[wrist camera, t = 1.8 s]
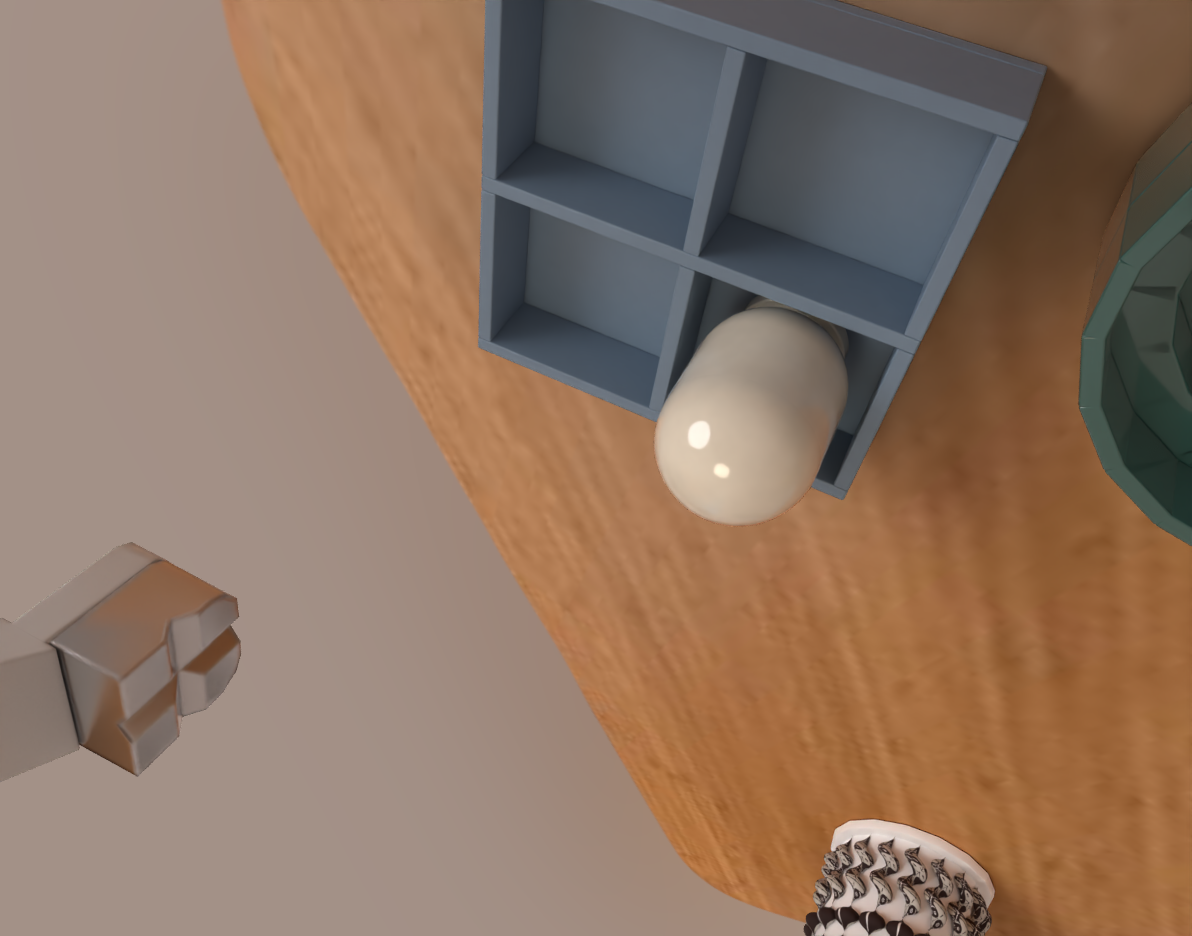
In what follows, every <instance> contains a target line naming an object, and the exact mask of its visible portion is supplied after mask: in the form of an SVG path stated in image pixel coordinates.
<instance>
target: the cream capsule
mask: <svg viewBox="0 0 1192 936" xmlns="http://www.w3.org/2000/svg"><path fill="white" fill-rule="evenodd" d="M848 349H849V340H848V335H847V331H846V329H845V328H844V327H841V326H839V325H836V324H833V323H831V322H828V321H825V320H823V319H820V318H818V317H815V316H812V315H810V314H807V313H805V312H802V311H799V310H797V309H794V308H791V307H789V306H786V305H784V304H781V303H778V302H776V301H773V300H771V299H768V298H765V297H763V296H760V295H759V296H757V297H755V298H754V299H752V300H751V301H750V302H749V303H748V304H747V305H746V307H745V308H744V309H743V311H741V312H738V313H736V314H734V315H731V316H730V317H728V318H726V319H725V320H723V321H722V322H720V323H719V324H718V325H717V326H716V327H714V328H713V329H712V330H711V331H710V332H709V333H708V334H707V336H706V337H705V338H704V339H703V341H702V342H701V343H700V345H699V346H698V348H697V350H696V351H695V353H694V355H693V356H692V358H691V359H690V361H689V363H688V364H687V366H686V367H685V369H684V371H683V372H682V374H681V376H680V377H679V379H678V380H677V382H676V384H675V385H674V387H673V389H672V390H671V392H670V393H669V395H668V397H667V398H666V400H665V402H664V404H663V406H662V408H661V410H660V412H659V416H658V419H657V423H656V426H655V434H654V452H655V459H656V463H657V467H658V470H659V473H660V475H661V478H662V479H663V481H664V483H665V485H666V487H667V488H668V490H669V491H670V493H671V494H672V495H673V496H674V498H675V499H676V500H677V501H678V502H679V503H680V504H681V505H682V506H684V507H685V508H686V509H687V510H689V511H690V512H691V513H693V514H695V515H696V516H698V517H700V518H702V519H704V520H707V521H709V522H712V523H716V524H720V525H725V526H733V527H743V526H752V525H758V524H762V523H765V522H768V521H770V520H773V519H775V518H777V517H779V516H781V515H782V514H784V513H786V512H787V511H789V510H790V509H791V508H792V507H794V506H795V505H796V504H797V503H798V502H799V501H800V500H801V499H802V498H803V497H804V496H805V494H806V493H807V492H808V491H809V489H810V488H811V486H812V484H813V482H814V480H815V479H816V477H817V475H818V472H819V470H820V468H821V465H822V463H823V461H824V458H825V456H826V454H827V452H828V449H829V447H830V445H831V442H832V440H833V438H834V435H835V433H836V431H837V428H838V426H839V424H840V421H841V419H842V417H843V414H844V411H845V408H846V404H847V400H848V391H849V377H848V370H847V366H846V362H845V360H846V358H847V355H848Z"/></svg>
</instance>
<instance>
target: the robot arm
mask: <svg viewBox="0 0 1192 936" xmlns="http://www.w3.org/2000/svg"><path fill="white" fill-rule="evenodd" d="M238 617H239V613H238V604H237V598H235V597H234V596H231V595H230V594H228V593H226V592H224V591H222V590H220V589H218V588H216V587H215V586H213V585H211V584H209V583H207V582H205V581H203V580H201V579H200V578H198V577H196V576H194V575H192V574H190V573H188V572H186V571H184V570H183V569H181V568H178V567H176V566H175V565H173V564H171V563H170V562H169V561H167V560H165V559H163V558H161V557H159V556H157V555H156V554H154V553H152V552H150V551H148V550H146V549H144V548H142V547H140V546H138V545H136V544H134V543H132V542H131V543H127V544H124V545H121V546H118V547H116V548H113V549H112V550H111V551H109V552H108V553H107V554H105V555H104V556H102V557H101V558H100V559H98V560H97V561H96V562H94V563H93V564H92V565H90V566H89V567H87V568H86V569H85V570H83V571H82V572H81V573H79V574H78V575H76V576H75V577H74V578H72V579H71V580H70V581H68V582H67V583H66V584H65V585H63V586H62V587H60V588H59V589H57V590H56V591H55V592H53V593H52V594H51V595H49V596H48V597H46V598H45V599H44V600H42V601H41V602H40V603H38V604H37V605H35V606H34V607H33V608H31V609H30V610H29V611H27V612H26V613H25V614H23V615H22V616H21V617H19V618H18V619H16V620H15V621H14V622H12V623H11V622H9V621H7V620H5V619H3V618H0V782H2V781H4V780H6V779H9V778H11V777H14V776H16V775H19V774H21V773H24V772H26V771H28V770H31V769H33V768H36V767H38V766H41V765H43V764H45V763H48V762H50V761H53V760H55V759H57V758H60V757H63V756H65V755H67V754H70V753H72V752H75V751H77V750H79V748H80V747H79V745H81V746H83V747H85V748H86V749H88V750H90V751H92V752H94V753H95V754H97V755H99V756H101V757H103V758H105V759H106V760H108V761H110V762H112V763H114V764H116V765H118V766H119V767H121V768H123V769H125V770H126V771H128V772H130V773H132V774H134V775H136V776H139V775H140V774H141V773H142V772H143V771H144V770H145V769H146V768H147V767H148V766H149V765H150V764H151V763H152V762H153V761H154V760H155V759H156V758H157V757H158V756H159V755H160V754H161V753H162V752H163V751H164V750H165V749H167V748H168V747H169V746H170V745H171V744H172V743H173V742H174V741H175V740H176V739H177V738H178V737H179V734H180V728H181V722H182V717H184V716H187V715H190V714H193V713H196V712H200V711H203V710H206V709H207V708H208V707H209V706H210V705H211V704H212V703H213V702H214V701H215V700H216V699H217V698H218V697H219V696H220V695H221V694H222V693H223V692H224V690H225V688H226V687H227V685H228V683H229V682H230V680H231V679H232V677H233V675H234V674H235V672H236V670H237V667H238V663H239V659H240V656H241V645H240V640H239V638H238V637H237V635H236V633H235V632H234V630H233V628H232V627H231V624H232V623H233V622H234V621H235V620H236V619H237V618H238Z"/></svg>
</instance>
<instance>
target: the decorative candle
mask: <svg viewBox="0 0 1192 936" xmlns="http://www.w3.org/2000/svg"><path fill="white" fill-rule="evenodd" d="M831 850H832V852H830V853H826V854H825V855H824V860H825V862H826V864H825V865H823V866H822V873H823V875H824V876H825V878H822V879H819V880H817V881H816V883H815V887H816V889H817V891H815V892H814V894H813V899H814V901H815V903H816V904H817V906H818V908H819V910H818V911H817V912H811V913H809V914H807V916H806V923H807V924H805V926H804V933H805V935H806V936H984V935H985V932H987V931H988V929H989V928H990V926H991V922H992V919H991V915H990V913H989V912H988V910H987V908H988V907H989V905H990V903H991V901H992V899H993V897H994V893H995V890H994V887H993V885H992V882H991V880H990V877H989V875H988V873H987V872H986V871H985V870H984V869H983V868H982V867H981V866H980V865H979V864H978V863H976V862H975V861H974V860H973V859H972V858H971V857H970V856H969V855H968V854H966V853H965V852H963V851H961V850H959V849H958V848H956V847H954V846H953V845H951V844H949V843H948V842H946V841H944V840H943V839H941V838H939V837H936V836H934V835H931V834H928V833H926V832H923V831H920V830H918V829H915V828H912V827H910V826H907V825H903V824H897V823H892V822H886V821H881V820H875V819H872V820H856V821H849V822H847V823H845V824H843V825H842V826H840V827H838V828H836V829H835V832H834V835H833V840H832V844H831ZM824 903H825V904H824Z"/></svg>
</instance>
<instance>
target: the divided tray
mask: <svg viewBox="0 0 1192 936" xmlns="http://www.w3.org/2000/svg"><path fill="white" fill-rule="evenodd" d="M1046 71H1047V66H1044V65H1041V64H1038V63H1035V62H1032V61H1028V60H1025V59H1022V58H1019V57H1016V56H1012V55H1009V54H1006V53H1003V52H1000V51H996V50H993V49H990V48H987V47H984V46H980V45H977V44H974V43H971V42H968V41H964V40H961V39H958V38H955V37H952V36H948V35H945V34H942V33H939V32H936V31H932V30H929V29H926V28H923V27H920V26H916V25H913V24H910V23H907V22H904V21H900V20H897V19H894V18H891V17H888V16H884V15H881V14H878V13H875V12H872V11H868V10H865V9H862V8H859V7H856V6H852V5H849V4H846V3H843V2H840V1H836V0H485V46H484V95H483V144H482V174H483V175H482V192H481V241H480V290H479V339H478V347H479V348H481V349H483V350H486V351H488V352H490V353H493V354H495V355H498V356H500V357H502V358H505V359H507V360H510V361H512V362H514V363H517V364H519V365H521V366H524V367H526V368H529V369H531V370H533V371H536V372H538V373H540V374H543V375H545V376H548V377H550V378H552V379H555V380H557V381H560V382H562V383H564V384H567V385H569V386H571V387H574V388H576V389H579V390H581V391H583V392H586V393H588V394H591V395H593V396H595V397H598V398H600V399H602V400H605V401H607V402H610V403H612V404H614V405H617V406H619V407H621V408H624V409H626V410H629V411H631V412H633V413H636V414H638V415H641V416H643V417H645V418H648V419H650V420H652V421H655V422H657V419H658V416H659V412H660V410H661V408H662V406H663V404H664V402H665V400H666V398H667V397H668V395H669V393H670V392H671V390H672V389H673V387H674V385H675V384H676V382H677V380H678V379H679V377H680V376H681V374H682V372H683V371H684V369H685V367H686V366H687V364H688V363H689V361H690V359H691V358H692V356H693V355H694V353H695V351H696V350H697V348H698V346H699V345H700V343H701V342H702V341H703V339H704V338H705V337H706V336H707V334H708V333H709V332H710V331H711V330H712V329H713V328H714V327H716V326H717V325H718V324H719V323H720V322H722V321H723V320H725V319H726V318H728V317H730V316H731V315H734V314H736V313H738V312H741V311H743V309H744V308H745V307H746V305H747V304H748V303H749V302H750V301H751V300H752V299H754V298H755V297H757V296H759V295H760V296H763V297H765V298H768V299H771V300H773V301H776V302H778V303H781V304H784V305H786V306H789V307H791V308H794V309H797V310H799V311H802V312H805V313H807V314H810V315H812V316H815V317H818V318H820V319H823V320H825V321H828V322H831V323H833V324H836V325H839V326H841V327H844V328H845V329H846V331H847V335H848V340H849V349H848V355H847V358H846V360H845V362H846V366H847V370H848V377H849V391H848V400H847V404H846V408H845V411H844V414H843V417H842V419H841V421H840V424H839V426H838V428H837V431H836V433H835V435H834V438H833V440H832V442H831V445H830V447H829V449H828V452H827V454H826V456H825V458H824V461H823V463H822V465H821V468H820V470H819V472H818V475H817V477H816V479H815V480H814V482H813V484H812V486H811V487H812V488H814V489H817V490H819V491H822V492H824V493H826V494H829V495H831V496H833V497H836V498H838V499H841V500H843V499H844V498H845V496H846V494H847V492H848V490H849V488H850V486H851V484H852V482H853V480H854V478H855V476H856V474H857V472H858V470H859V468H860V465H861V463H862V461H863V459H864V457H865V455H866V453H867V451H868V449H869V447H870V445H871V443H872V441H873V439H874V437H875V435H876V433H877V431H878V429H879V427H880V425H881V423H882V421H883V419H884V417H885V415H886V413H887V410H888V408H889V406H890V404H891V402H892V400H893V398H894V396H895V394H896V392H897V390H898V388H899V386H900V384H901V382H902V380H903V378H904V376H905V374H906V372H907V370H908V368H909V366H910V364H911V362H912V360H913V358H914V355H915V353H916V351H917V349H918V347H919V345H920V343H921V341H922V339H923V337H924V335H925V333H926V331H927V329H928V327H929V325H930V323H931V321H932V319H933V317H934V315H935V313H936V311H937V309H938V307H939V305H940V303H941V301H942V298H943V296H944V294H945V292H946V290H947V288H948V286H949V284H950V282H951V280H952V278H953V276H954V274H955V272H956V270H957V268H958V266H959V264H960V262H961V260H962V258H963V256H964V254H965V252H966V250H967V248H968V246H969V243H970V241H971V239H972V237H973V235H974V233H975V231H976V229H977V227H978V225H979V223H980V221H981V219H982V217H983V215H984V213H985V211H986V209H987V207H988V205H989V203H990V201H991V199H992V197H993V195H994V193H995V191H996V188H997V186H998V184H999V182H1000V180H1001V178H1002V176H1003V174H1004V172H1005V170H1006V168H1007V166H1008V164H1009V162H1010V160H1011V158H1012V156H1013V154H1014V152H1015V150H1016V148H1017V146H1018V144H1019V141H1020V140H1021V138H1022V135H1023V133H1024V131H1025V129H1026V127H1027V125H1028V123H1029V120H1030V117H1031V114H1032V112H1033V109H1034V106H1035V103H1036V100H1037V97H1038V94H1039V91H1040V89H1041V86H1042V83H1043V80H1044V77H1045V74H1046Z"/></svg>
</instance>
